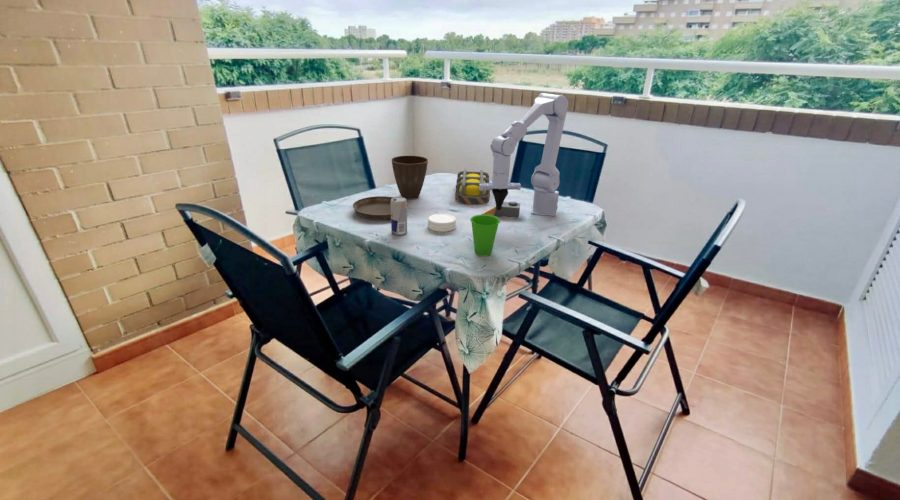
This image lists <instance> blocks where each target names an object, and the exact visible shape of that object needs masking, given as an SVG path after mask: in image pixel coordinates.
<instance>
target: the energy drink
mask: <svg viewBox="0 0 900 500" xmlns="http://www.w3.org/2000/svg"><path fill="white" fill-rule="evenodd" d="M390 204H391V219H390V225H391V227H390V228H391V233H392V235H395V236H404V235H406V234H407V233H408V203H407V199H406V198H404V197H401V196H395V197H394V198H392V199H391V202H390Z"/></svg>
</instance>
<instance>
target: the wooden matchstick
mask: <svg viewBox="0 0 900 500" xmlns="http://www.w3.org/2000/svg"><path fill="white" fill-rule="evenodd" d="M495 213H496V205H495V206H493V207H491V208H489V209H487V210H485V211H483V212H482V213H481V214H480V215H492V216H494V215H495Z"/></svg>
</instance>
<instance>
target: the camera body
mask: <svg viewBox="0 0 900 500" xmlns="http://www.w3.org/2000/svg"><path fill="white" fill-rule="evenodd" d="M520 209H521V203H520V202H517V201H504V202H503V204H502V207H501V210H497V209H496V213H495V215H494V216H495V217H499V218H500V217H501V218H512V219H514V218H515V219H520Z"/></svg>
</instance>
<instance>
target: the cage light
mask: <svg viewBox="0 0 900 500" xmlns="http://www.w3.org/2000/svg"><path fill="white" fill-rule="evenodd" d="M461 175H462V176H461ZM456 178H457V179H456V184H455V190H454V191H455V192H454V193H455V194H454V199H455V201H456V202H458V203H459V204H462V205H468V206H479V205H485V204H488V203H490V197H491V190H483V191H480V190H479V184H484V183H491V181H490V174H489V173H488V172H486V171H484V170H483V169H482V170H480V171H473V170H472V171H470V170H469V171H467V169H463V170H461V171H459V172H458V173H457V177H456Z"/></svg>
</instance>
